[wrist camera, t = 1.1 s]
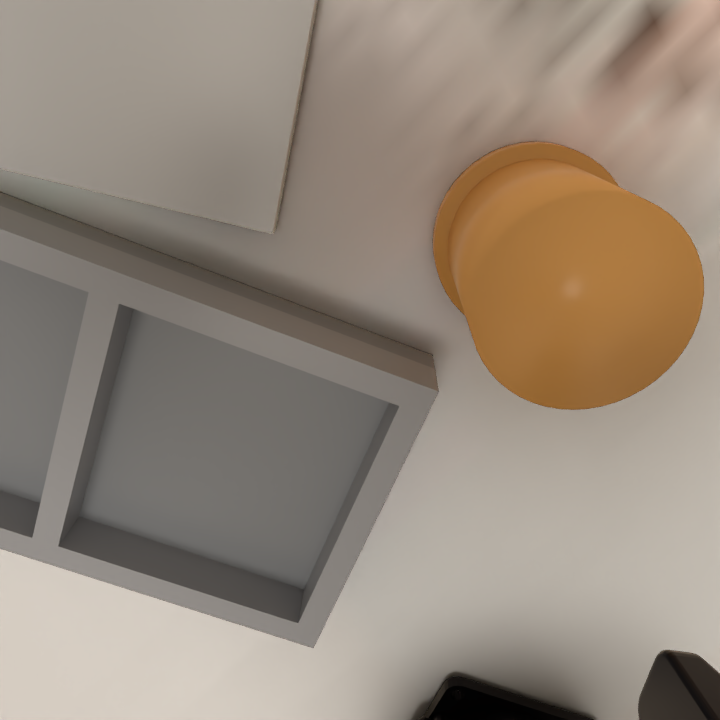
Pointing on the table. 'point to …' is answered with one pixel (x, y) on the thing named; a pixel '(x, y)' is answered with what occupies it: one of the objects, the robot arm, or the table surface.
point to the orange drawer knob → (566, 276)
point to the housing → (191, 427)
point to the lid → (157, 99)
